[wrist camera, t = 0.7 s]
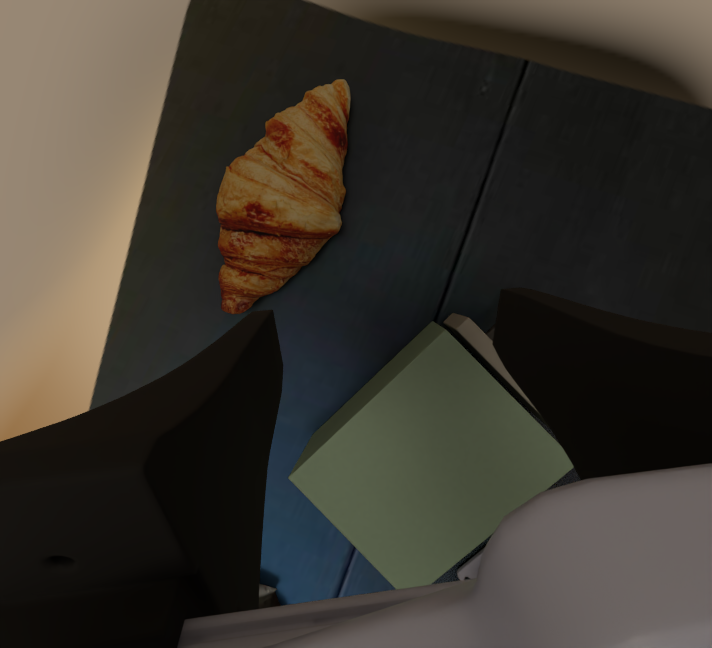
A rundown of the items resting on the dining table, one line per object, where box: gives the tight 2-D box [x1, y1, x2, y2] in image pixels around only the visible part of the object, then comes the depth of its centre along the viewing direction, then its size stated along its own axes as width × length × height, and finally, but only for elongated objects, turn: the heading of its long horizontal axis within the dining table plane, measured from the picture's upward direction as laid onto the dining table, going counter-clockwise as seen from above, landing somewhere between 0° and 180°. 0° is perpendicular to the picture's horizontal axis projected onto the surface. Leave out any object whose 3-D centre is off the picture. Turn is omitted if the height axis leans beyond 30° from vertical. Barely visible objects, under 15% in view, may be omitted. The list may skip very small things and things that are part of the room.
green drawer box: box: [288, 321, 574, 589], centre depth 28 cm, size 15×12×8 cm
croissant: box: [216, 79, 351, 314], centre depth 29 cm, size 21×10×8 cm, turn 153°
